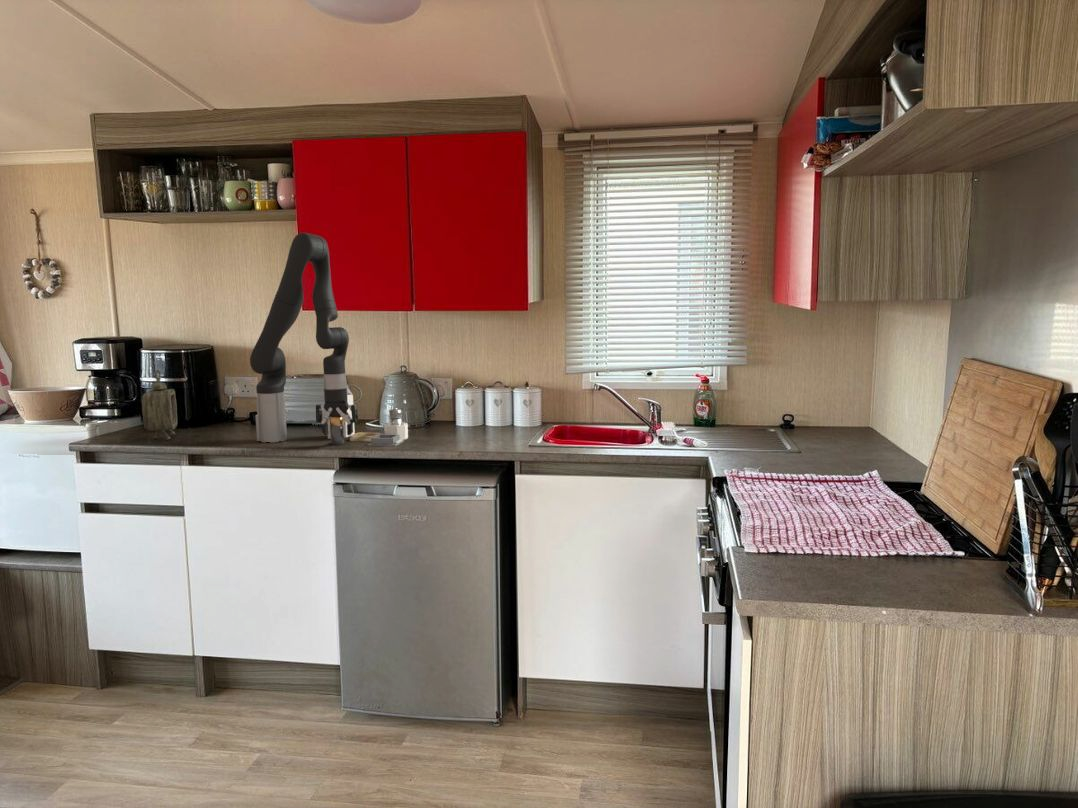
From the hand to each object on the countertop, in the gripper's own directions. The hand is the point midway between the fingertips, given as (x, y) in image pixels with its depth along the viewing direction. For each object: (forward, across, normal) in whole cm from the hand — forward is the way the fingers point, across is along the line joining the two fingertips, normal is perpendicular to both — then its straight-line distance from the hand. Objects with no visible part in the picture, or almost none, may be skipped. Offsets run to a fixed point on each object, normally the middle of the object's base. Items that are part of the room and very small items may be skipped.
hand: (337, 434), depth 265 cm
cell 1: (+4, 0, 0) cm, 4 cm away
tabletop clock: (+4, -70, +7) cm, 71 cm away
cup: (+4, +17, +11) cm, 20 cm away
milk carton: (+4, -5, +15) cm, 16 cm away
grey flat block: (+4, +16, +1) cm, 17 cm away
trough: (+4, +7, +8) cm, 11 cm away
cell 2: (+3, +17, +11) cm, 20 cm away
